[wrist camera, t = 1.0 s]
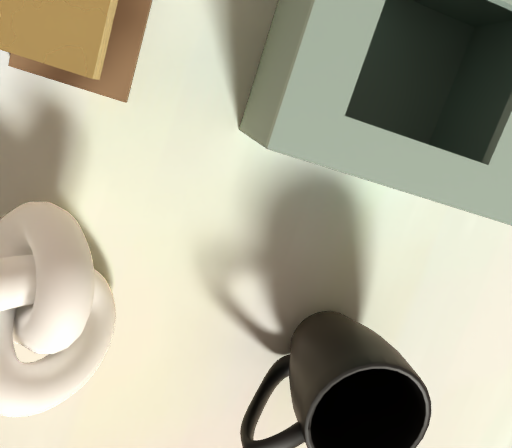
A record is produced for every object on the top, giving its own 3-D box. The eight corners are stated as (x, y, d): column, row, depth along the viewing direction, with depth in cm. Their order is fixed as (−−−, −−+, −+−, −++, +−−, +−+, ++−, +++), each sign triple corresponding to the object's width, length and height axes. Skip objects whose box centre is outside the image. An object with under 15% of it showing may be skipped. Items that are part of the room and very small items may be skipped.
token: (-4, 47, 23) (-20, 43, 21) (16, -61, 22) (0, -75, 20) (99, 79, 24) (92, 79, 22) (122, -21, 23) (117, -31, 21)
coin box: (238, 129, 32) (267, 148, 21) (295, -57, 29) (359, -138, 19) (416, 185, 35) (516, 226, 25) (481, 22, 32) (624, -10, 22)
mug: (215, 327, 36) (227, 407, 27) (363, 282, 37) (423, 345, 28) (242, 413, 38) (261, 513, 29) (380, 369, 39) (440, 453, 30)
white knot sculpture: (-10, 155, 30) (-85, 181, 22) (162, 233, 33) (155, 283, 25) (-73, 302, 32) (-165, 379, 23) (95, 363, 35) (68, 451, 27)
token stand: (12, 66, 29) (-29, 60, 23) (35, -54, 27) (-3, -92, 22) (127, 102, 30) (114, 104, 25) (154, -10, 29) (148, -35, 23)
